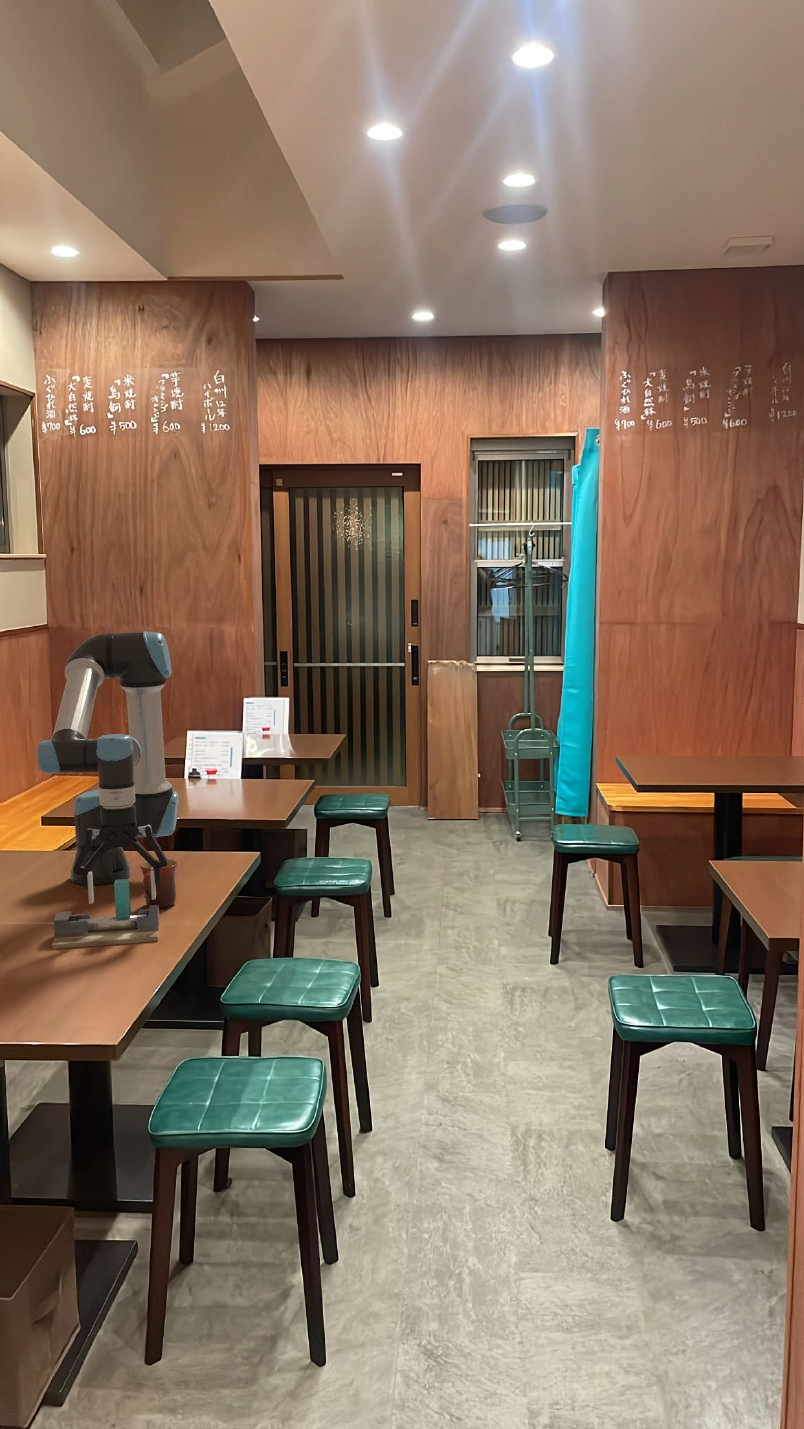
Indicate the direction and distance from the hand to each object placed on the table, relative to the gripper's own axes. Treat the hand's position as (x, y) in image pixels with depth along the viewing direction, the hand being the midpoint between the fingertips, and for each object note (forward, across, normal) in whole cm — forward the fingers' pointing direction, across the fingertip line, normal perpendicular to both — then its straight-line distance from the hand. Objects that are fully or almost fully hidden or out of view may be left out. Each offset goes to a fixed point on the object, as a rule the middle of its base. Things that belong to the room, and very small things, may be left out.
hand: (122, 900), depth 237 cm
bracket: (+7, -11, 0) cm, 13 cm away
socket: (+7, +5, 0) cm, 8 cm away
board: (+8, -4, 0) cm, 8 cm away
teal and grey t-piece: (+7, -2, 0) cm, 7 cm away
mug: (+8, +6, +18) cm, 21 cm away
